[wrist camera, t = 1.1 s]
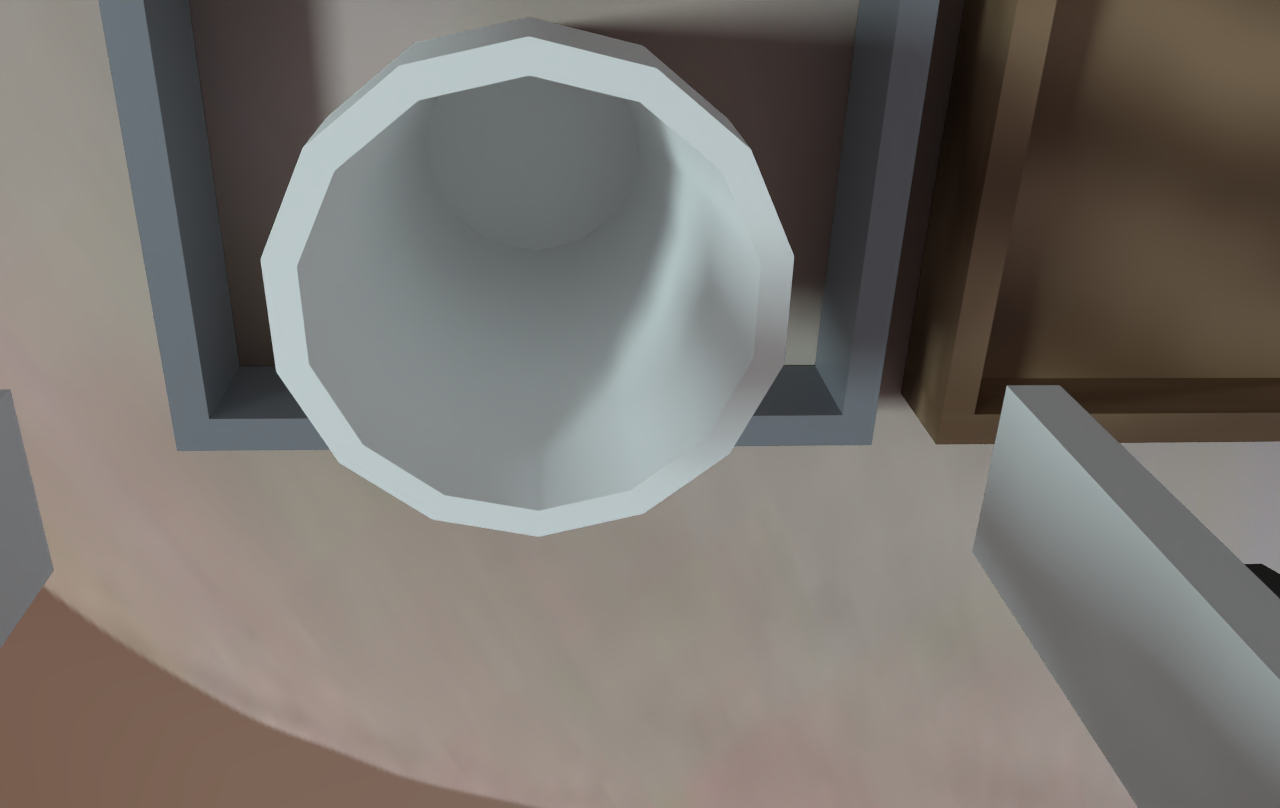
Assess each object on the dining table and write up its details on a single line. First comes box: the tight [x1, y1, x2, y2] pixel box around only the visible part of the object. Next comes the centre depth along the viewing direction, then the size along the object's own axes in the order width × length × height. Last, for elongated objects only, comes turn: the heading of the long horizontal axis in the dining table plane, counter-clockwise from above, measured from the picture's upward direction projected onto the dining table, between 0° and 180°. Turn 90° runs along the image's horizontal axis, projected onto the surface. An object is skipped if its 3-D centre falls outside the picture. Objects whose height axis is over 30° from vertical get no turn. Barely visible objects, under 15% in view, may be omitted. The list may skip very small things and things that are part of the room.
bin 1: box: [99, 0, 940, 451], centre depth 29 cm, size 16×20×4 cm
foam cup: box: [260, 17, 794, 537], centre depth 25 cm, size 10×9×13 cm
